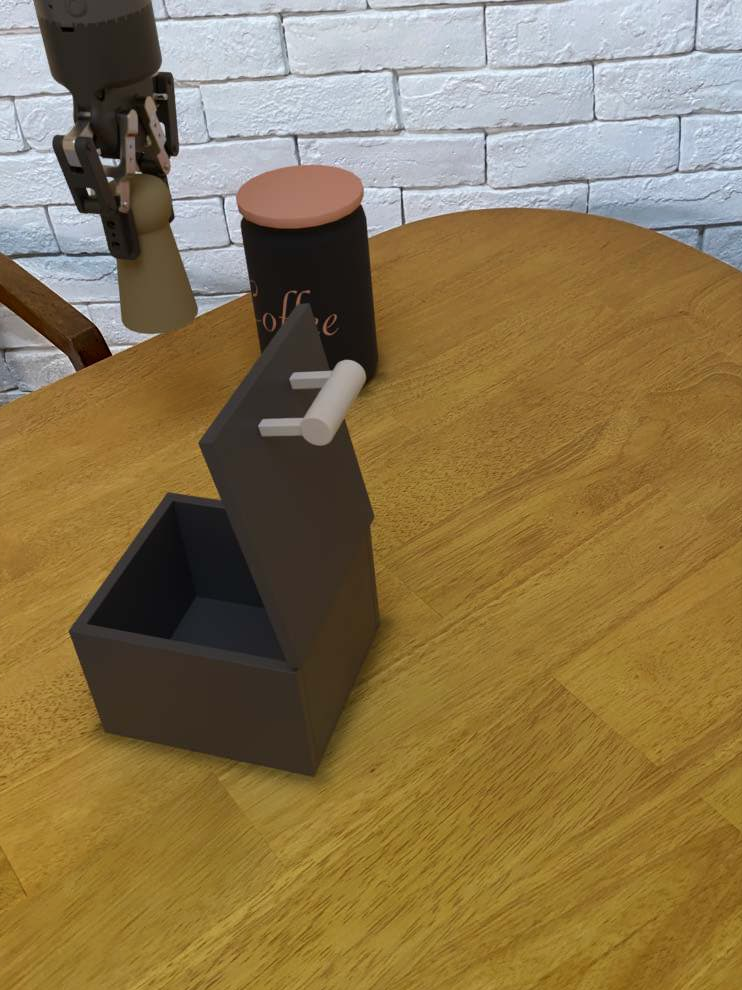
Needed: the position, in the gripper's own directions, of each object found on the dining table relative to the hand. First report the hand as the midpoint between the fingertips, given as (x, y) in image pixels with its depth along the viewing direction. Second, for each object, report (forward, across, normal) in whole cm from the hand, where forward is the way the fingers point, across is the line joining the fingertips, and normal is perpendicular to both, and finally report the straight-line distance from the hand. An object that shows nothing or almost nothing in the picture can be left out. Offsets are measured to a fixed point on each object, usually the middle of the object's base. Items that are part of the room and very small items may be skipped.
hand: (143, 238), depth 85 cm
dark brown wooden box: (+19, +24, +16) cm, 35 cm away
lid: (+1, +24, +21) cm, 32 cm away
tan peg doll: (+7, 0, 0) cm, 7 cm away
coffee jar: (+19, -13, +8) cm, 25 cm away
